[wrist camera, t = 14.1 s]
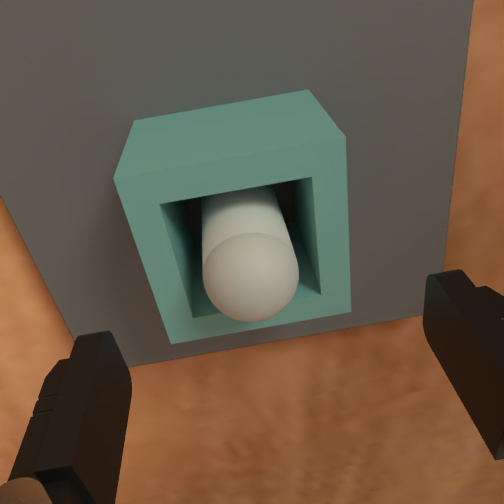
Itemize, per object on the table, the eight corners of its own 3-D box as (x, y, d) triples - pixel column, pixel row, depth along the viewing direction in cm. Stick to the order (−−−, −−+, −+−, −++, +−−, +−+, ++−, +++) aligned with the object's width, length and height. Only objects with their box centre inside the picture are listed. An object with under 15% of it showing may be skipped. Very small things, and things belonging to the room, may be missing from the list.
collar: (308, 89, 16) (345, 136, 12) (319, 237, 20) (351, 312, 16) (134, 120, 16) (113, 178, 12) (176, 262, 20) (170, 344, 16)
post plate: (465, -138, 15) (741, -227, 7) (425, 294, 25) (523, 441, 17) (-93, -41, 14) (-393, -28, 7) (96, 352, 25) (54, 525, 17)
